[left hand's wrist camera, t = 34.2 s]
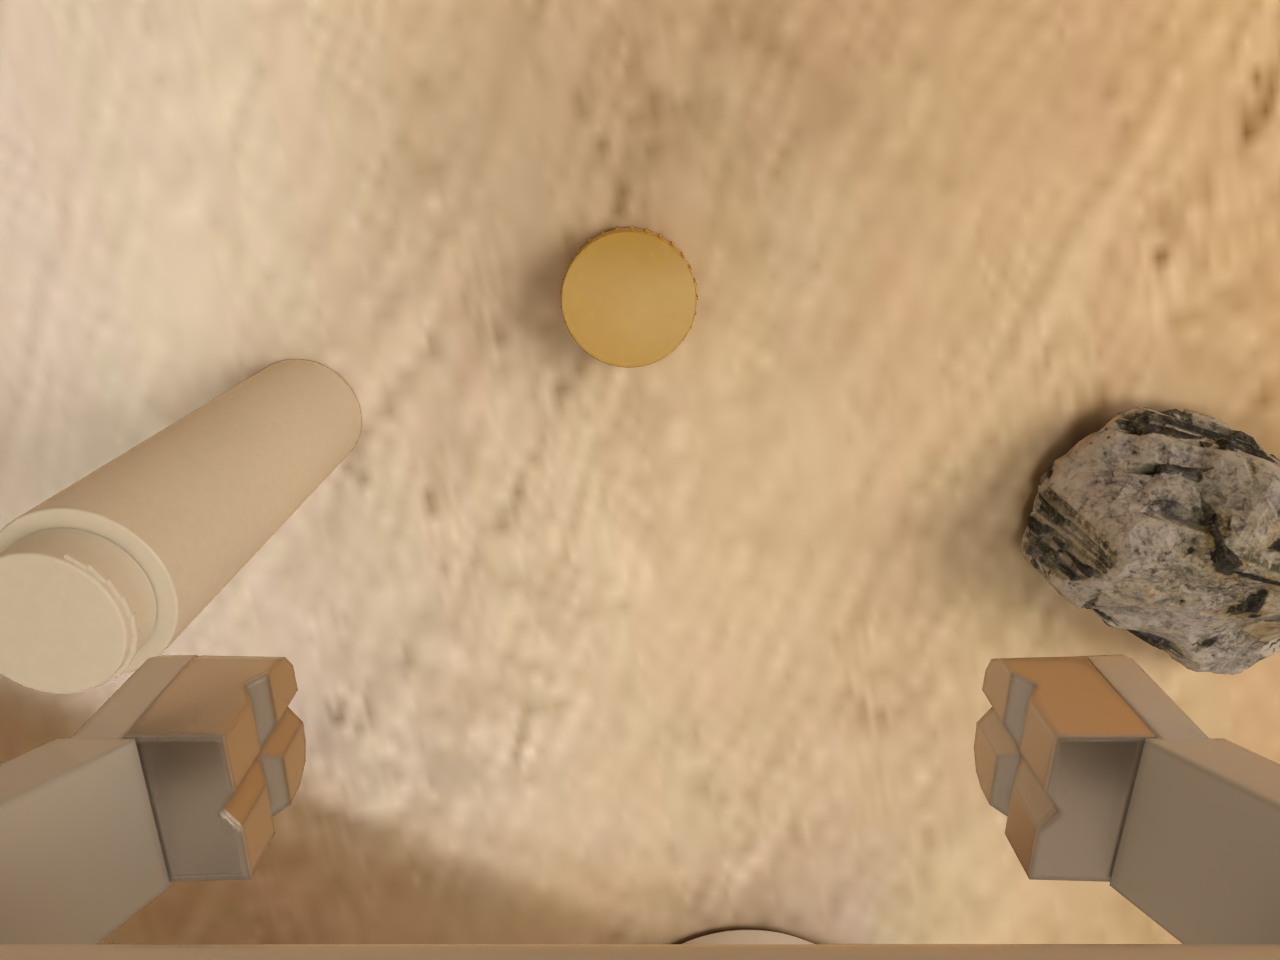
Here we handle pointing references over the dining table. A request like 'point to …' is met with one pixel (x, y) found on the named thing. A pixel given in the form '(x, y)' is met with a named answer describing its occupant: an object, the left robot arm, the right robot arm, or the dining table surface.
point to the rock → (1167, 536)
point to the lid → (629, 297)
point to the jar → (164, 527)
